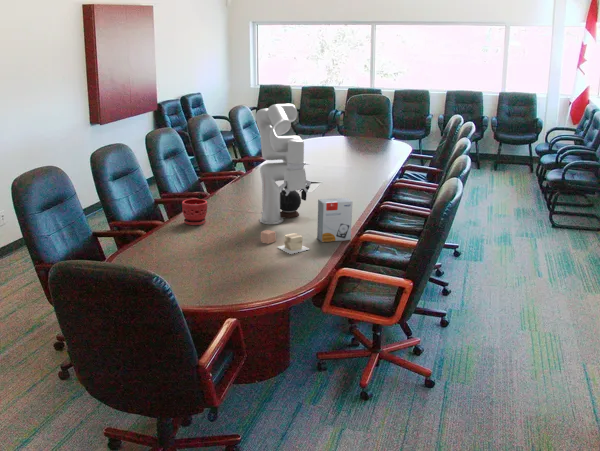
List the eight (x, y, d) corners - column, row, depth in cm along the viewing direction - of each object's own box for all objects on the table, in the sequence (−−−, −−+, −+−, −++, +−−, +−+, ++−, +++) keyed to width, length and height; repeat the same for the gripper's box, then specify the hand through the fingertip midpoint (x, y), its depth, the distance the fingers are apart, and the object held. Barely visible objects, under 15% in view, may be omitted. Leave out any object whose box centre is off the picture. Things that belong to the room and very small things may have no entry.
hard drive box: (321, 242, 318) (322, 203, 312) (316, 237, 325) (317, 199, 319) (351, 240, 322) (352, 201, 316) (346, 235, 329) (347, 197, 323)
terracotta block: (260, 241, 320) (260, 232, 318) (267, 239, 323) (267, 229, 322) (268, 244, 317) (268, 234, 315) (275, 241, 320) (275, 231, 319)
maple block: (284, 247, 310) (284, 235, 308) (295, 244, 313) (295, 232, 312) (291, 250, 305) (291, 238, 304) (302, 248, 309) (302, 236, 307)
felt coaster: (277, 247, 311) (277, 246, 311) (296, 243, 317) (296, 242, 317) (290, 254, 302) (290, 253, 302) (309, 250, 308) (309, 248, 308)
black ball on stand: (273, 213, 365) (273, 187, 361) (294, 210, 370) (295, 185, 366) (282, 220, 354) (282, 193, 349) (304, 217, 359) (305, 190, 355)
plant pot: (205, 226, 342) (205, 204, 338) (180, 226, 342) (179, 204, 338) (209, 219, 354) (208, 198, 350) (185, 219, 354) (184, 197, 351)
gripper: (306, 162, 310) (305, 196, 316) (275, 166, 301) (275, 202, 306) (315, 165, 304) (314, 200, 310) (284, 170, 295) (283, 206, 301)
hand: (295, 201), depth 308 cm, fingers open, 9 cm apart
